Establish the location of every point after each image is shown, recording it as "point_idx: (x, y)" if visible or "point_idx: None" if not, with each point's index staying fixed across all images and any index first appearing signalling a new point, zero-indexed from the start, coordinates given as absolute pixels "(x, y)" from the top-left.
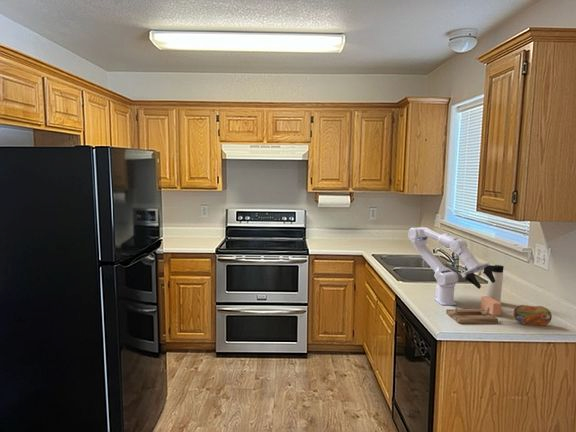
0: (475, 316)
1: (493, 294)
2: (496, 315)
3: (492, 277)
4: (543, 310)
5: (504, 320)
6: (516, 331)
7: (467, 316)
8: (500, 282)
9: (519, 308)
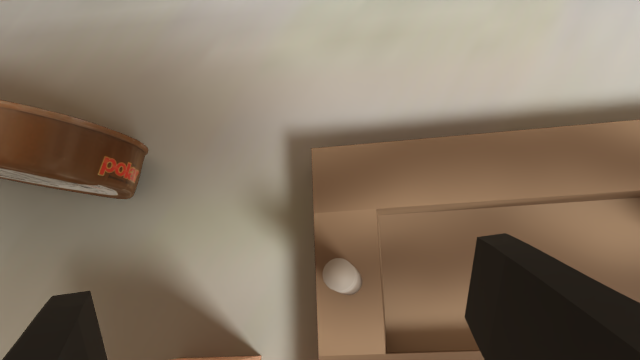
0: None
1: None
2: (218, 357)
3: (57, 351)
4: None
5: (216, 231)
6: (261, 7)
7: None
8: None
9: (59, 124)
